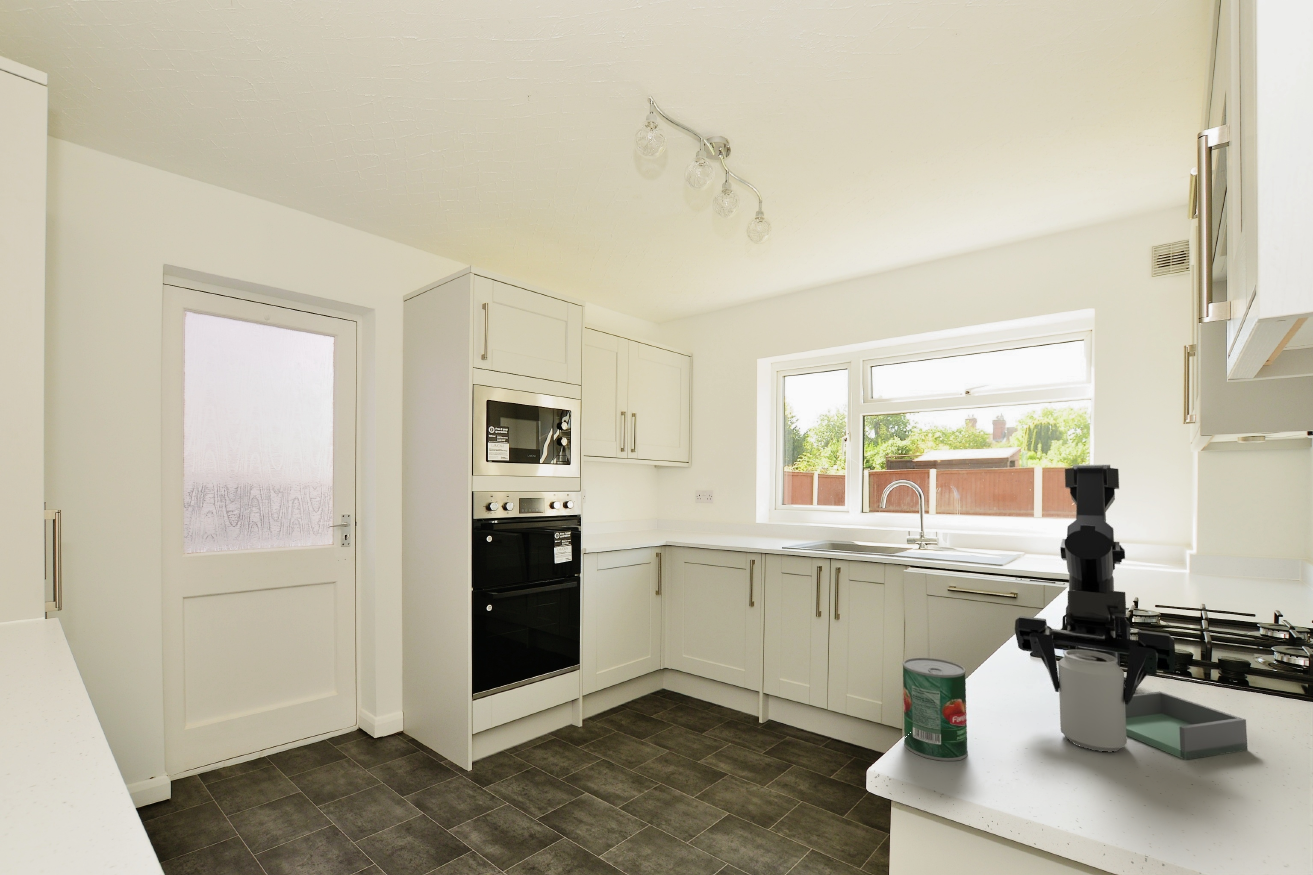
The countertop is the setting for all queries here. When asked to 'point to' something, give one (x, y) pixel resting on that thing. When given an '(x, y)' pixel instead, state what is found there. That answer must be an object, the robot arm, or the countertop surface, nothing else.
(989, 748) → the countertop surface
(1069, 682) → the can
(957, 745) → the canned tomato
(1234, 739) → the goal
